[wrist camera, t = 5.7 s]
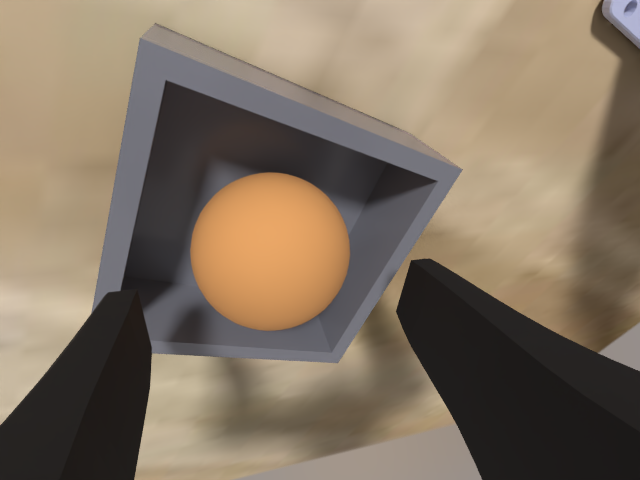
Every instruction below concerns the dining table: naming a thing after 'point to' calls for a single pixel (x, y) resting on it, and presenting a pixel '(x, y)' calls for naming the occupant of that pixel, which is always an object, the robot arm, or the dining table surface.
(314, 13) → the dining table surface
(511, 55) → the dining table surface
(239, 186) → the ball
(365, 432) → the dining table surface
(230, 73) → the grey open-top box
